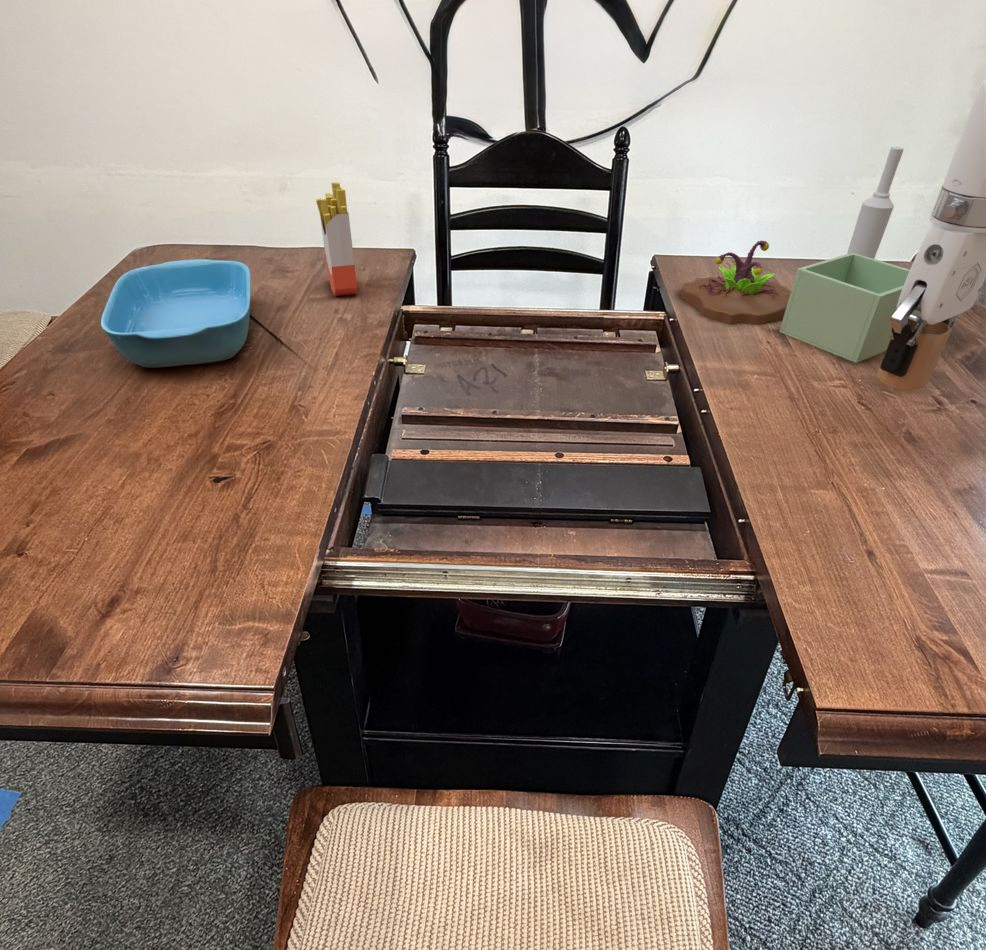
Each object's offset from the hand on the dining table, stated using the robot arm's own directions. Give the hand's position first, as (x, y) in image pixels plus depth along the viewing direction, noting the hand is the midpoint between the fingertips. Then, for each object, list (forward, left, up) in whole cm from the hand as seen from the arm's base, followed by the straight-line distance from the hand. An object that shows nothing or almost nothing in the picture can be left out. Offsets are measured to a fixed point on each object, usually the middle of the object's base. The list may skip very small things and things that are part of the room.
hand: (908, 364), depth 90 cm
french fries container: (+91, +35, -11) cm, 98 cm away
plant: (+44, -23, -11) cm, 50 cm away
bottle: (+34, -43, -11) cm, 56 cm away
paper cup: (0, 0, -2) cm, 2 cm away
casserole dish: (+87, +66, -11) cm, 110 cm away
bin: (+23, -26, -11) cm, 36 cm away
